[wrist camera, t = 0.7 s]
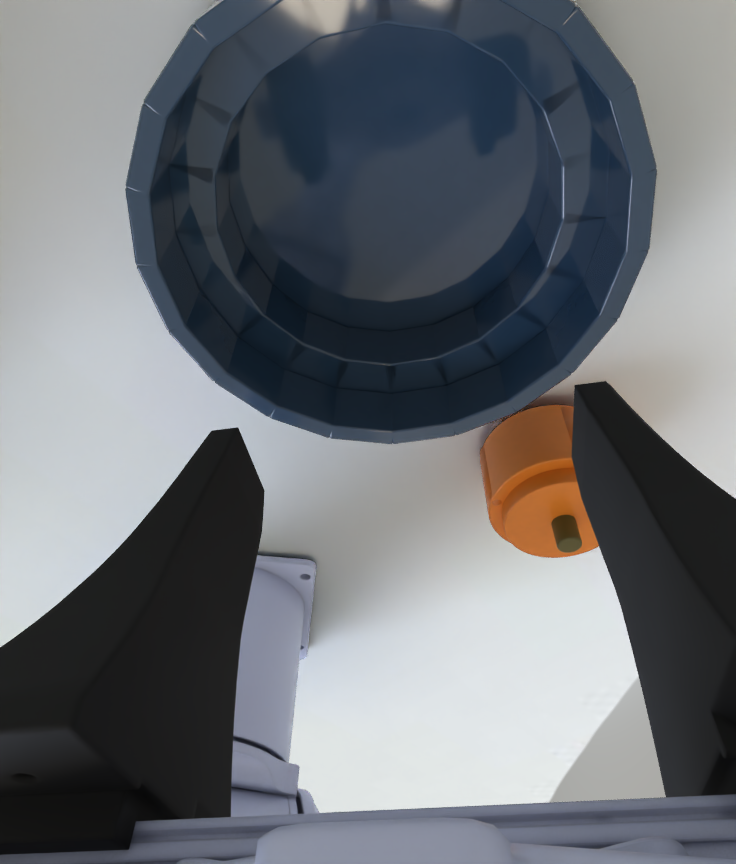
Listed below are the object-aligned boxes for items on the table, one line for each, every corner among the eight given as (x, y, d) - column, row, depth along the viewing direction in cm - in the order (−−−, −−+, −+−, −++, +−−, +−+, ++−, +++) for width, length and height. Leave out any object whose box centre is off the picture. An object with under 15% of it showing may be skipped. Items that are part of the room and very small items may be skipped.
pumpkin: (584, 495, 29) (615, 595, 25) (463, 484, 29) (476, 584, 25) (632, 401, 26) (678, 501, 22) (494, 387, 25) (514, 486, 21)
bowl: (533, 378, 25) (557, 460, 22) (188, 342, 24) (157, 422, 21) (685, -39, 16) (764, -9, 13) (148, -120, 15) (83, -109, 12)
